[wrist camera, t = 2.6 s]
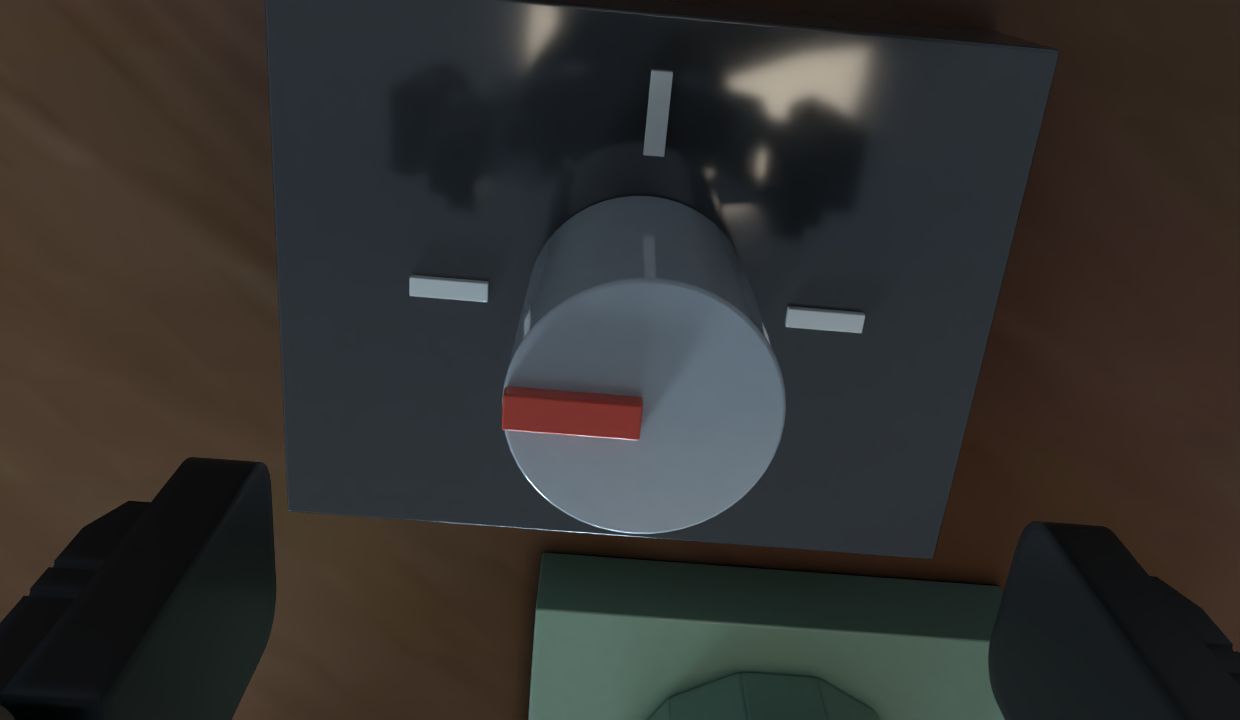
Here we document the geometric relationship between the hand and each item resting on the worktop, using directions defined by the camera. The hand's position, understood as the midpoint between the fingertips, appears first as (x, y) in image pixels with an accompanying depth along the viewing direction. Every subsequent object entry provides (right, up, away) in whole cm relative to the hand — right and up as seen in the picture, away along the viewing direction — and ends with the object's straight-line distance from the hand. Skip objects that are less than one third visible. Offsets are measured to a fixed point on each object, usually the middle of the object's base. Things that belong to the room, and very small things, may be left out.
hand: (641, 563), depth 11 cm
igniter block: (+3, -7, +15) cm, 17 cm away
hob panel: (0, +4, +10) cm, 11 cm away
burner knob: (0, +3, +8) cm, 8 cm away
